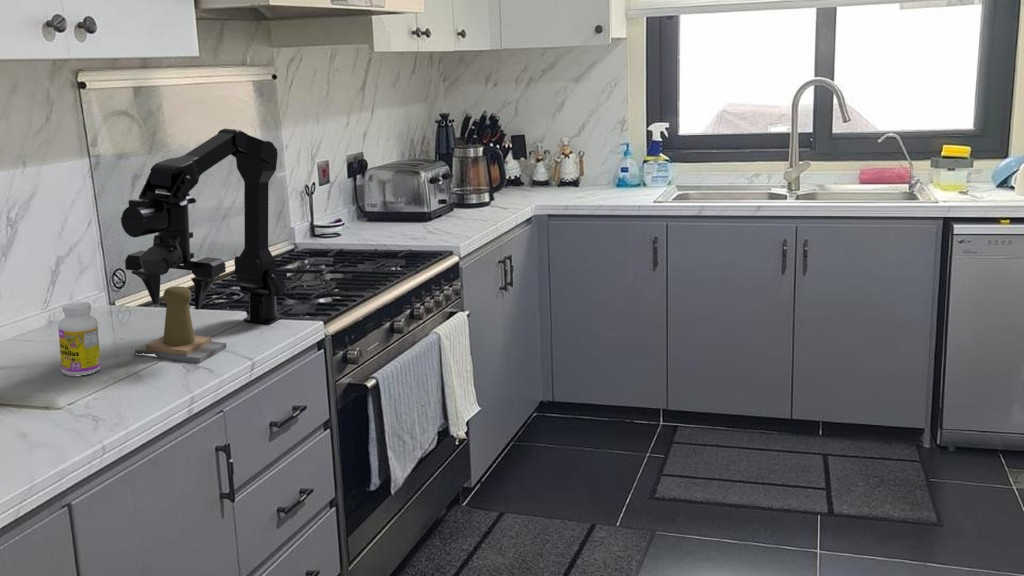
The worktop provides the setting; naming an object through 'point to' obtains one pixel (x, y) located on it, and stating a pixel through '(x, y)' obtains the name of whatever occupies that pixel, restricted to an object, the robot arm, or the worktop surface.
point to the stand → (183, 349)
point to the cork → (178, 317)
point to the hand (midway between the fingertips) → (177, 306)
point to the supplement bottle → (78, 340)
